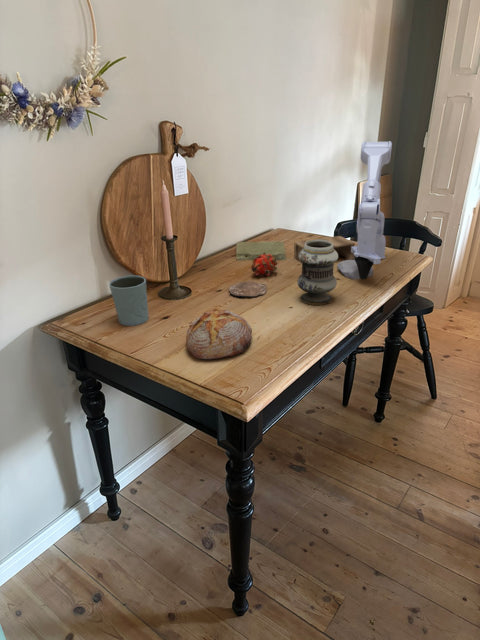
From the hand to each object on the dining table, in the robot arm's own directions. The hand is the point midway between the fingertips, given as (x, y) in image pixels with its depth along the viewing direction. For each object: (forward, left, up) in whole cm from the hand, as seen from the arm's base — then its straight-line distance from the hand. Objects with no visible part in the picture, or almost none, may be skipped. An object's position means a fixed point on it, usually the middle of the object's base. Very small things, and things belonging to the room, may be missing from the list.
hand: (363, 278), depth 159 cm
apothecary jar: (+21, +7, -2) cm, 22 cm away
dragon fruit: (+28, -20, -2) cm, 35 cm away
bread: (+58, +24, -2) cm, 62 cm away
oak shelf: (0, -28, -1) cm, 28 cm away
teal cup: (+77, 0, -2) cm, 77 cm away
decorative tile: (+20, -44, -2) cm, 49 cm away
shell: (+39, -8, -2) cm, 40 cm away
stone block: (-2, -9, -2) cm, 10 cm away
